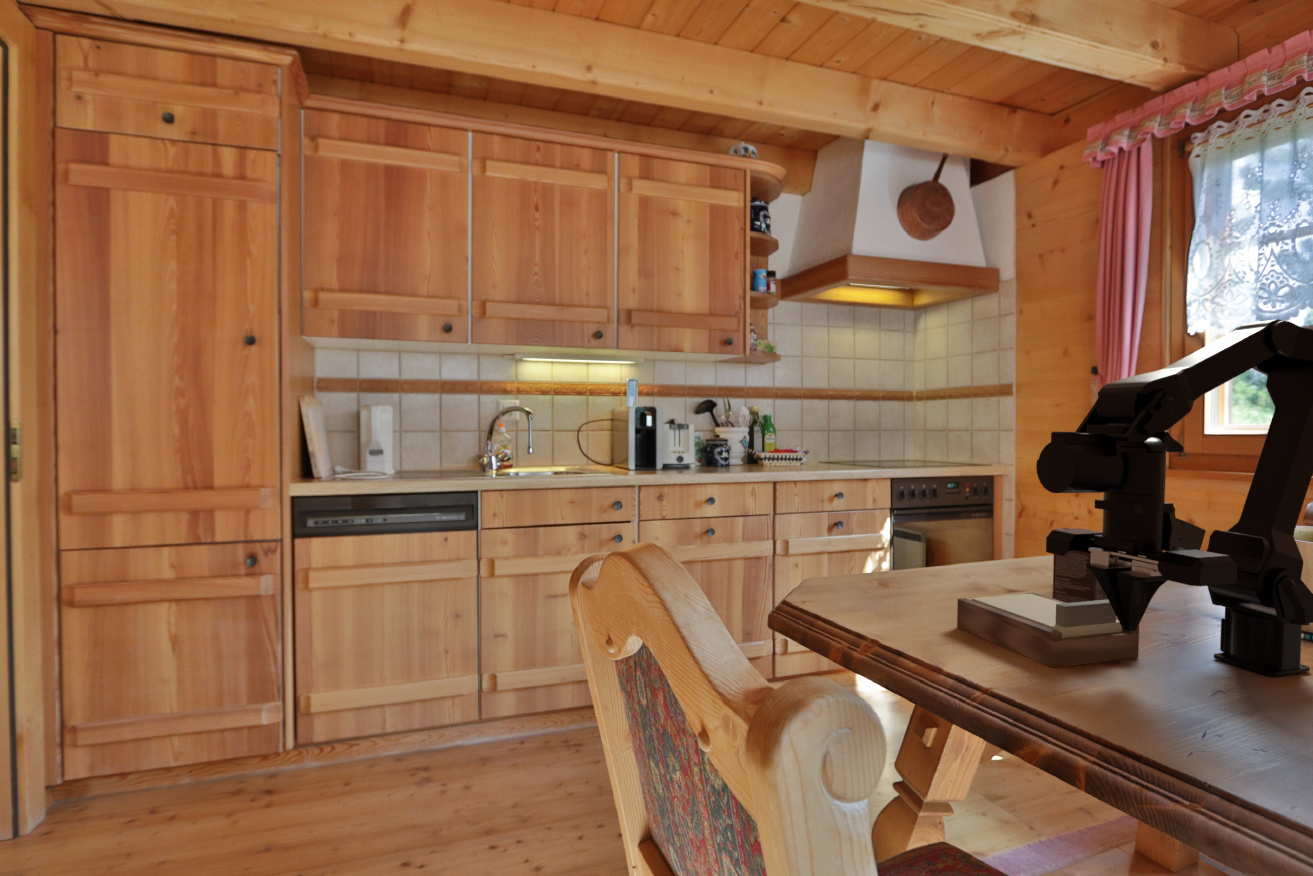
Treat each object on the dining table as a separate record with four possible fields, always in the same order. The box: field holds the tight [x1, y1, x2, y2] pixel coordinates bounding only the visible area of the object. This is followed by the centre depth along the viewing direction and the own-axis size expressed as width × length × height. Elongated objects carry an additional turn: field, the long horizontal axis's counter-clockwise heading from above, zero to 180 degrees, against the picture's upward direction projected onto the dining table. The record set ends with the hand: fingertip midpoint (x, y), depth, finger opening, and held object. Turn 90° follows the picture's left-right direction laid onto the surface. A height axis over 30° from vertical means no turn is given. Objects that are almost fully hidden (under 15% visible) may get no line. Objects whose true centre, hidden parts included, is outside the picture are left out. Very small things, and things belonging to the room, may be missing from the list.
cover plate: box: [971, 593, 1122, 638], centre depth 91 cm, size 14×10×4 cm
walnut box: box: [956, 592, 1140, 668], centre depth 91 cm, size 16×13×4 cm
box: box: [1052, 527, 1106, 603], centre depth 107 cm, size 6×4×12 cm
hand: (1129, 630), depth 80 cm, fingers closed
